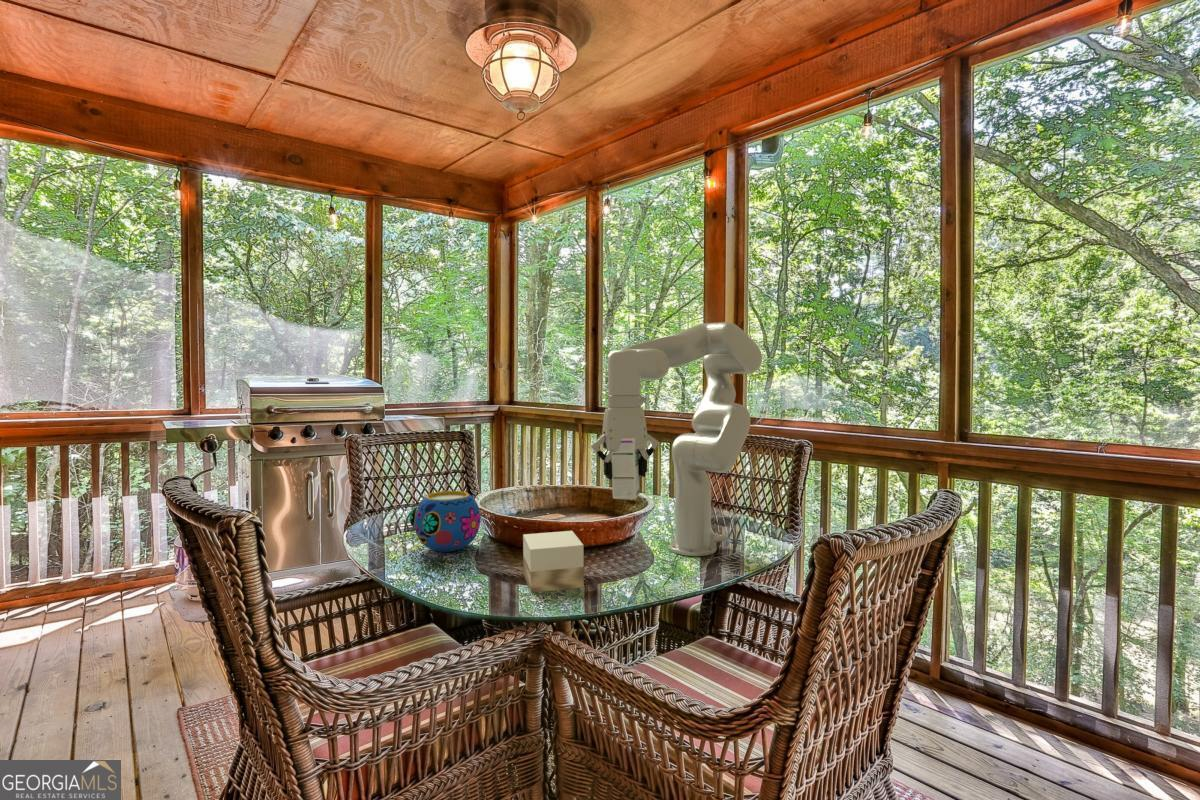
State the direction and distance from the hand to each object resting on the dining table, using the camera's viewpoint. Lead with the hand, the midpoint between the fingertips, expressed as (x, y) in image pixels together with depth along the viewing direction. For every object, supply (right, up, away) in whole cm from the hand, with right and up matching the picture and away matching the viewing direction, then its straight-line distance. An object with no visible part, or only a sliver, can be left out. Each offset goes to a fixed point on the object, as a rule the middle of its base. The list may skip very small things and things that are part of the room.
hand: (625, 476), depth 140 cm
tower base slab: (-17, -24, -2) cm, 30 cm away
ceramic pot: (-48, -23, +22) cm, 57 cm away
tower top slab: (-17, -19, -2) cm, 26 cm away
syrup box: (0, -5, 0) cm, 5 cm away
